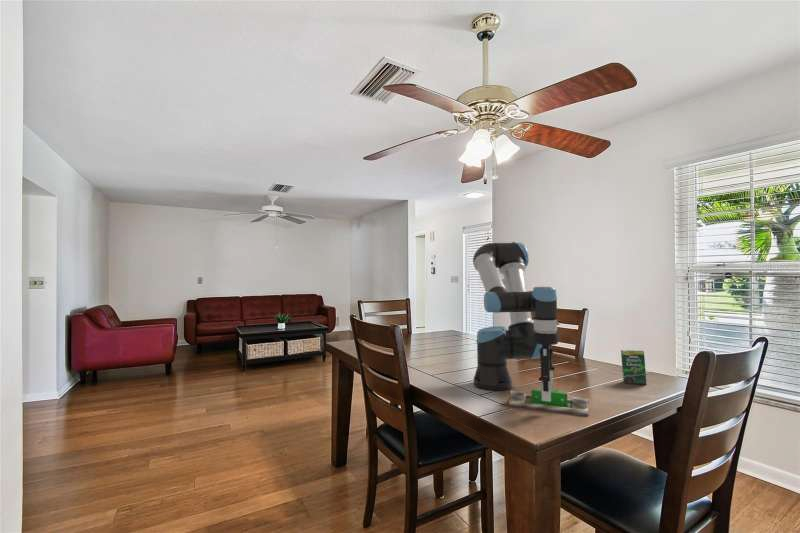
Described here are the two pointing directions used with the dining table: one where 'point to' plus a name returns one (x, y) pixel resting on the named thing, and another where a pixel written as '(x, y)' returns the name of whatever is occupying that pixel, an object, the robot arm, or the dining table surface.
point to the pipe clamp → (555, 398)
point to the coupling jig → (525, 401)
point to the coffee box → (633, 367)
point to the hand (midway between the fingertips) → (547, 394)
